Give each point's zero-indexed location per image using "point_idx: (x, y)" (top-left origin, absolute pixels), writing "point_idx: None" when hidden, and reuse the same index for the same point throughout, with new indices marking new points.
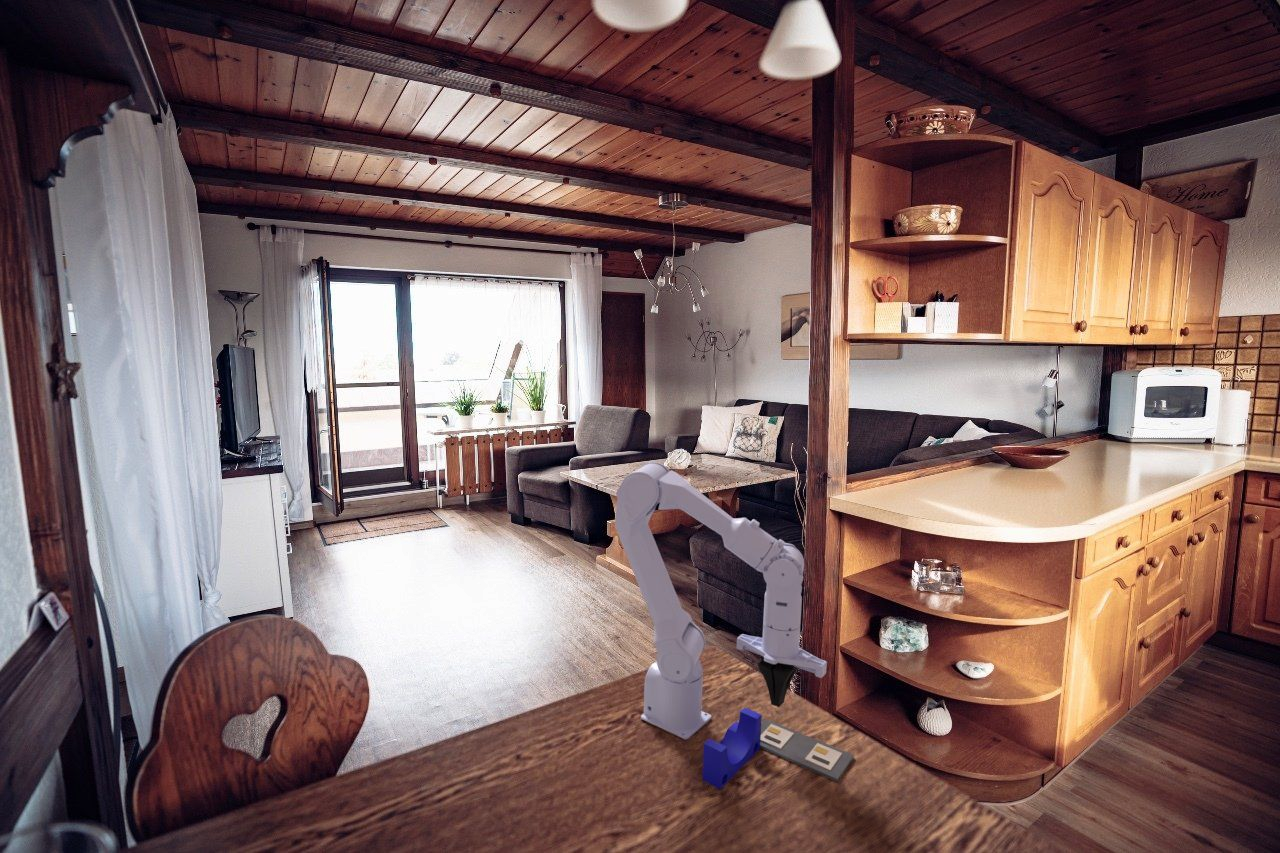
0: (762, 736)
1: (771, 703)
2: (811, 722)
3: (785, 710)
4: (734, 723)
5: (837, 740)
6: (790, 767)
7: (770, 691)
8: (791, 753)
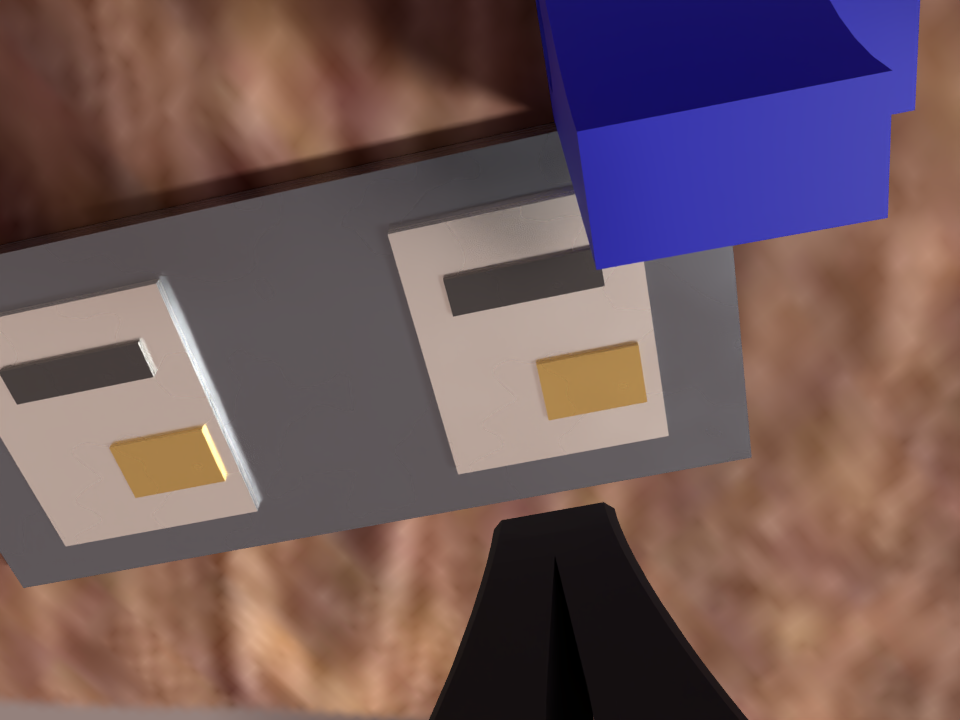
0: None
1: (600, 509)
2: None
3: (706, 635)
4: (906, 54)
5: (239, 631)
6: (192, 124)
7: (632, 635)
8: (293, 263)
